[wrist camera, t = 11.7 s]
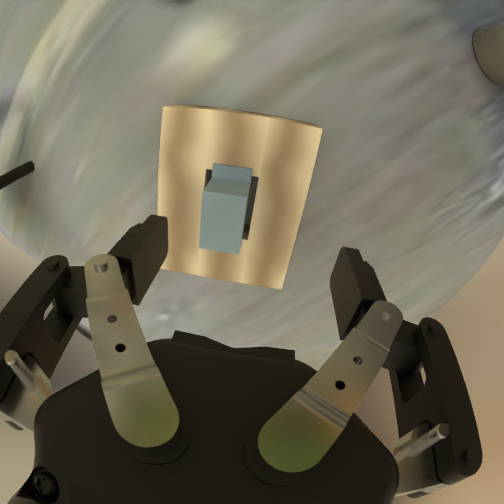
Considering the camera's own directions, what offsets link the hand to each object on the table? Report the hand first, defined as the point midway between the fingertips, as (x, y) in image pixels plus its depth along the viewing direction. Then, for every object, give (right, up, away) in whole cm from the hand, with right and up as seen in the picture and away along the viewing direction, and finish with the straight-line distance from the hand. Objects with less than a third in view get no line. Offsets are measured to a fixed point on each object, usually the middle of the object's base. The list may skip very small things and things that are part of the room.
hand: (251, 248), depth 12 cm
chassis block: (-2, +7, +21) cm, 22 cm away
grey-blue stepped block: (-2, +7, +20) cm, 21 cm away
